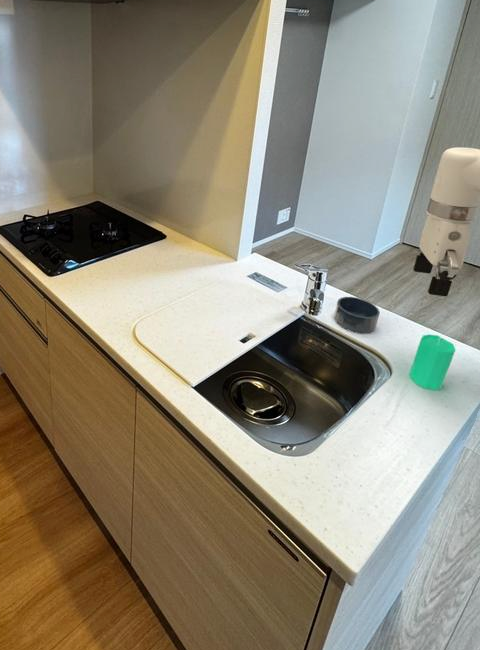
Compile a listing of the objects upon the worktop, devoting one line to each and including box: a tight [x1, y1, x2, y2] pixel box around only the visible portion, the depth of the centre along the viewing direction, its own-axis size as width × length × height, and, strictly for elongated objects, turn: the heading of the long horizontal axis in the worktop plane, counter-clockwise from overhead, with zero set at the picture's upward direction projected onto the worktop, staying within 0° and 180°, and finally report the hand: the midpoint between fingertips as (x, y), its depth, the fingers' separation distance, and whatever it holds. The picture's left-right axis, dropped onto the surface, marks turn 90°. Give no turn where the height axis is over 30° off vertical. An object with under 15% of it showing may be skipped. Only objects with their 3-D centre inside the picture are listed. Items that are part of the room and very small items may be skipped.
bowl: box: [333, 296, 380, 335], centre depth 113 cm, size 10×10×5 cm
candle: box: [408, 334, 456, 391], centre depth 92 cm, size 6×6×12 cm
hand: (429, 282), depth 89 cm, fingers open, 9 cm apart
